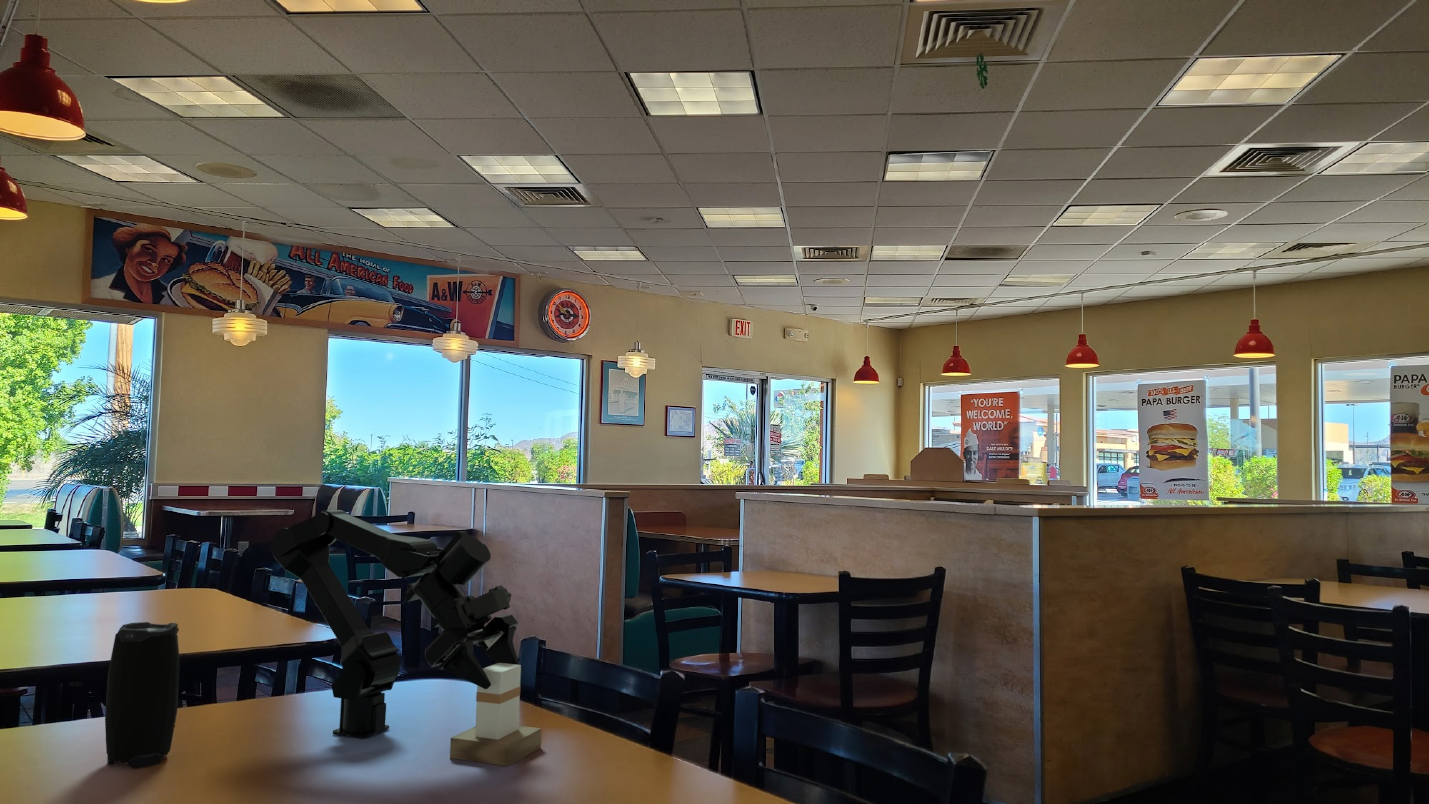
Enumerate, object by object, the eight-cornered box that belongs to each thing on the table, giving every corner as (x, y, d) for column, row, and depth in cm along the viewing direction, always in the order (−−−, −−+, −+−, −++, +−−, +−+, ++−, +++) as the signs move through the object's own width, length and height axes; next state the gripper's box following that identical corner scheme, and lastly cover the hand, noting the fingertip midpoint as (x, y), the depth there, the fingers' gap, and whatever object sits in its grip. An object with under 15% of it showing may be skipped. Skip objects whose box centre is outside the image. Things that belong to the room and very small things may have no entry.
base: (449, 757, 143) (450, 737, 143) (485, 740, 152) (486, 721, 153) (507, 766, 140) (508, 745, 140) (540, 747, 149) (541, 728, 149)
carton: (474, 736, 144) (477, 670, 145) (495, 726, 150) (498, 662, 151) (498, 739, 143) (500, 672, 143) (518, 729, 149) (521, 665, 149)
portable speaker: (186, 752, 142) (194, 621, 143) (145, 772, 133) (155, 631, 134) (131, 750, 142) (140, 619, 144) (86, 770, 133) (97, 629, 134)
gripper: (445, 576, 141) (507, 658, 136) (510, 565, 158) (566, 637, 154) (398, 625, 142) (457, 707, 138) (467, 609, 160) (522, 681, 156)
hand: (504, 681), depth 147 cm, fingers open, 9 cm apart
